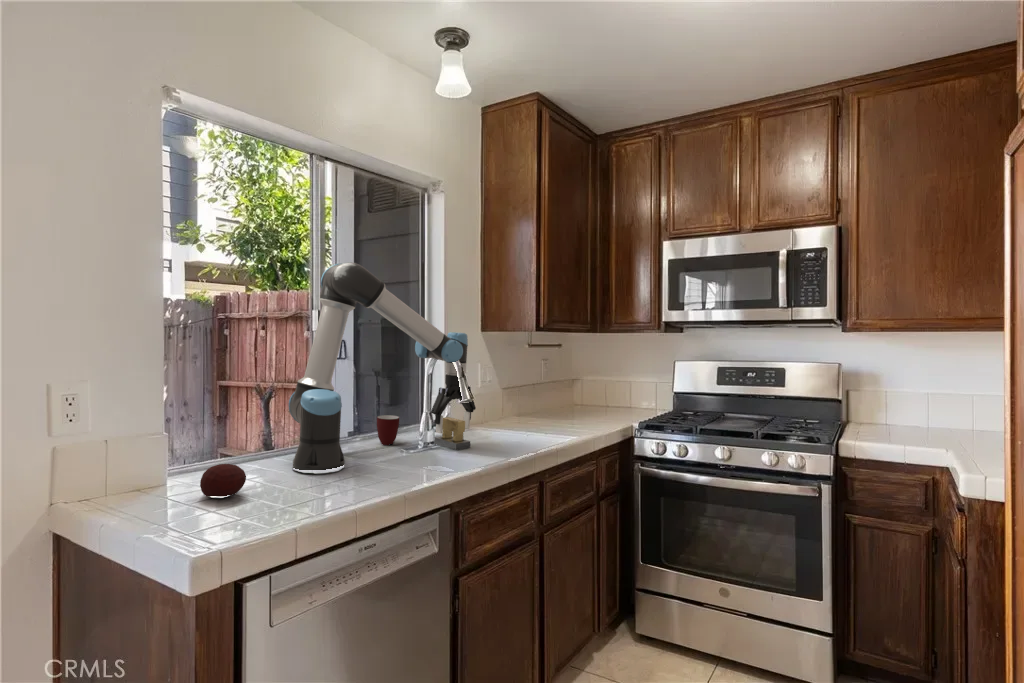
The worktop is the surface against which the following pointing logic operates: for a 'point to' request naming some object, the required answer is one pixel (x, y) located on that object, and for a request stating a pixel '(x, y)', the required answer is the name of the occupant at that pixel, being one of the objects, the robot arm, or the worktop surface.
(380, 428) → the mug
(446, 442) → the grey flat block
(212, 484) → the potato
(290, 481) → the worktop surface
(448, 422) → the tan wooden arch block
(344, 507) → the worktop surface
